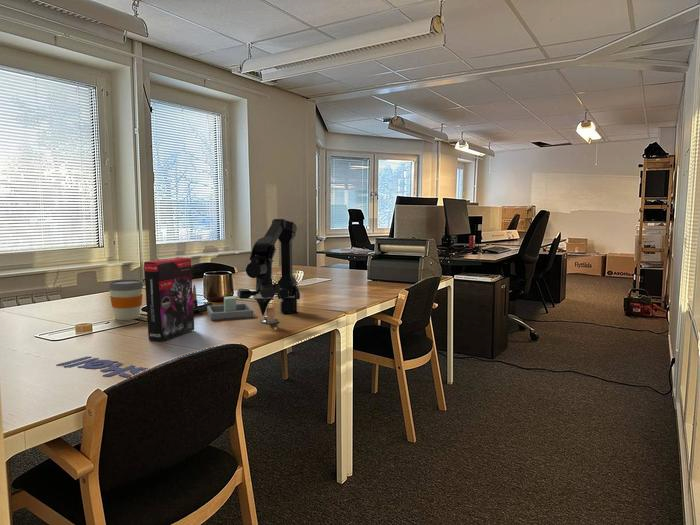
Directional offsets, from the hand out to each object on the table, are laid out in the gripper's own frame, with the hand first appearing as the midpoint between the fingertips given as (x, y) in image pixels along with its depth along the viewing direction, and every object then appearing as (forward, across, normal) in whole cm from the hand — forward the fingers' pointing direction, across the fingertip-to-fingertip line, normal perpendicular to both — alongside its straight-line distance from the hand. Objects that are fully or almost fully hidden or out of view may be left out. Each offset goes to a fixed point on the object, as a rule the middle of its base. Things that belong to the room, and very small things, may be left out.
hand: (262, 315), depth 182 cm
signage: (+7, -52, -29) cm, 60 cm away
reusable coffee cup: (+7, -47, +36) cm, 60 cm away
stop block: (+5, -8, +26) cm, 27 cm away
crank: (+3, +4, +4) cm, 7 cm away
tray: (+5, -8, +26) cm, 28 cm away
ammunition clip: (+6, -24, +38) cm, 45 cm away
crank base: (+5, +5, +3) cm, 7 cm away
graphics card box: (+6, -33, +1) cm, 33 cm away
